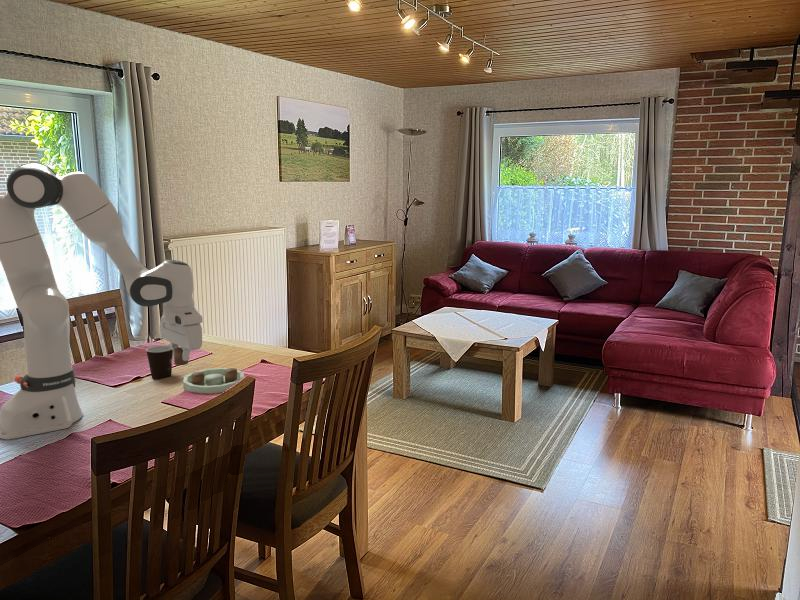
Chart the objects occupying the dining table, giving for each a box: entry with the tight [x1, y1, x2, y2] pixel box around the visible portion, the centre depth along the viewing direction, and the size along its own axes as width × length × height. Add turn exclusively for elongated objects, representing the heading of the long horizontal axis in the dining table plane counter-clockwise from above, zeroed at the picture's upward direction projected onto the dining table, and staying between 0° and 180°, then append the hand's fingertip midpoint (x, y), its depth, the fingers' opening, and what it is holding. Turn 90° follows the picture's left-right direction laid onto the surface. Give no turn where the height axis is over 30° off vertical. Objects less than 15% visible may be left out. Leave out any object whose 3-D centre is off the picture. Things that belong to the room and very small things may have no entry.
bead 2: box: [191, 371, 205, 386], centre depth 204 cm, size 4×4×4 cm
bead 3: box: [225, 367, 238, 384], centre depth 208 cm, size 4×4×4 cm
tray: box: [182, 367, 245, 394], centre depth 208 cm, size 20×20×3 cm
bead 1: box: [173, 346, 189, 366], centre depth 191 cm, size 4×4×4 cm
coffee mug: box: [145, 344, 174, 380], centre depth 218 cm, size 12×9×10 cm
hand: (181, 358), depth 191 cm, fingers closed on bead 1, 4 cm apart
